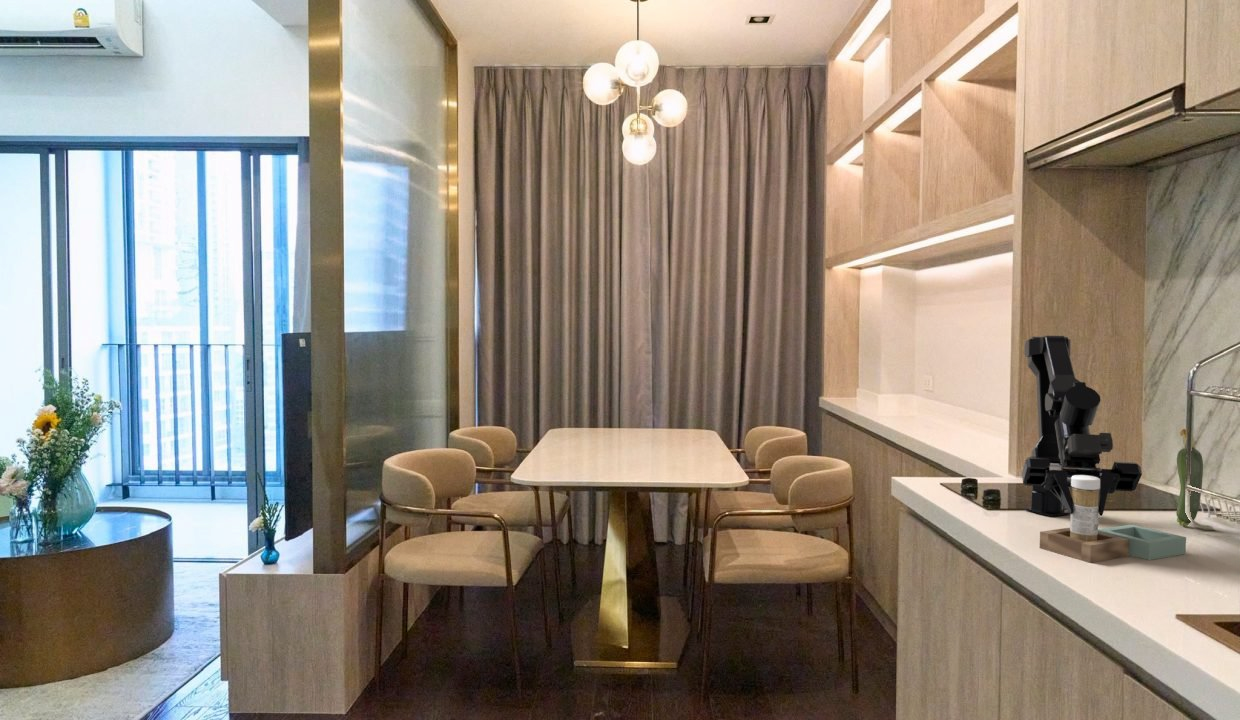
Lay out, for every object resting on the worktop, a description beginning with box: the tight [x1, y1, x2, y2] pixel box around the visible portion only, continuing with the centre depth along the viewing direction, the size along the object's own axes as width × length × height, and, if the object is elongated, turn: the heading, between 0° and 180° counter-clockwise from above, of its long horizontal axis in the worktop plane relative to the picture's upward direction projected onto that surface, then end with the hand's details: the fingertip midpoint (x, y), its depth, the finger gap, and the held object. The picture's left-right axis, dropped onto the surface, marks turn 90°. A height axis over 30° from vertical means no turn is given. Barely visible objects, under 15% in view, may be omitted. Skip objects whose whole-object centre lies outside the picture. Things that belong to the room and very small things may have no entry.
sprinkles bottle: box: [1069, 475, 1100, 542], centre depth 150 cm, size 5×5×14 cm
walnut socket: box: [1039, 527, 1130, 563], centre depth 150 cm, size 10×10×3 cm
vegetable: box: [1175, 428, 1204, 528], centre depth 168 cm, size 4×4×20 cm
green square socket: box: [1098, 524, 1187, 561], centre depth 152 cm, size 10×10×3 cm
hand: (1086, 513), depth 148 cm, fingers closed on sprinkles bottle, 4 cm apart
